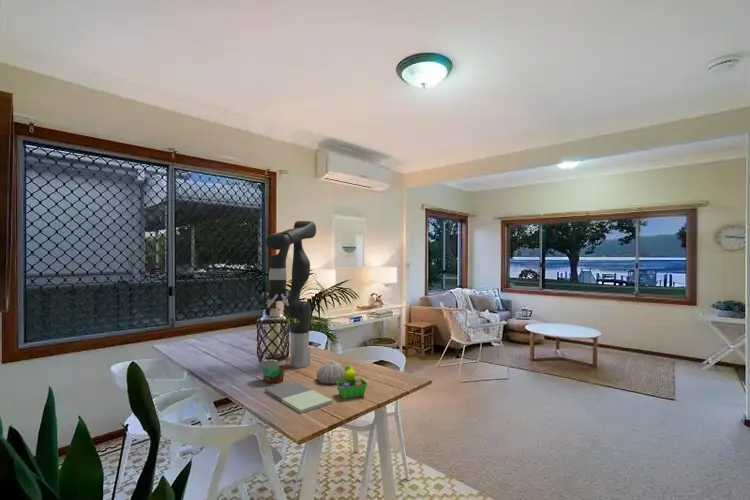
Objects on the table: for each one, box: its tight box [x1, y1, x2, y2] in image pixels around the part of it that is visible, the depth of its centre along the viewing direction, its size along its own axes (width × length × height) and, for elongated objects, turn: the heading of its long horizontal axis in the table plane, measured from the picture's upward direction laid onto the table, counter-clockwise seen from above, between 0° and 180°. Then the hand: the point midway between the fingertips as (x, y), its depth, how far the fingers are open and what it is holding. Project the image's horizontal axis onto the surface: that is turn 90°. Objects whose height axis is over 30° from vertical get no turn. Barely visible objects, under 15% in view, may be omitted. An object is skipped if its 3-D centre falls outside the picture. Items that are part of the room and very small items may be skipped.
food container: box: [260, 356, 287, 385], centre depth 163 cm, size 12×6×10 cm, turn 68°
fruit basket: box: [335, 364, 368, 399], centre depth 150 cm, size 11×9×11 cm
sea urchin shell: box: [316, 361, 345, 384], centre depth 166 cm, size 13×14×8 cm
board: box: [264, 380, 333, 414], centre depth 146 cm, size 14×28×1 cm, turn 43°
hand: (276, 314), depth 162 cm, fingers open, 8 cm apart
